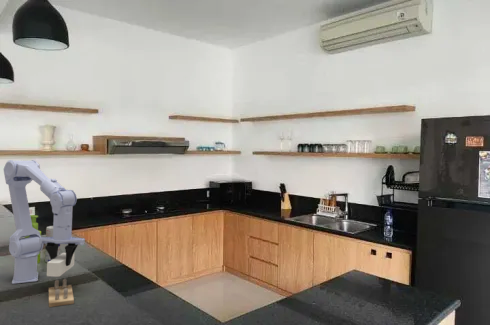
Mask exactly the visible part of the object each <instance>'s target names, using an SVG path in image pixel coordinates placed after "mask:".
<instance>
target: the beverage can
mask: <svg viewBox="0 0 490 325" xmlns="http://www.w3.org/2000/svg"><path fill="white" fill-rule="evenodd" d="M45 237H53V225H49V226H46V228H45ZM45 246H47V244H45ZM44 251H45V253H44V261H45V262H46V263H47V262H49V261H51V258H50V256H49V253H48V252H47V250H46V249H45V248H44ZM60 254H61V244H59V246H58V252H57V256H59V255H60Z"/></svg>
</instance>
